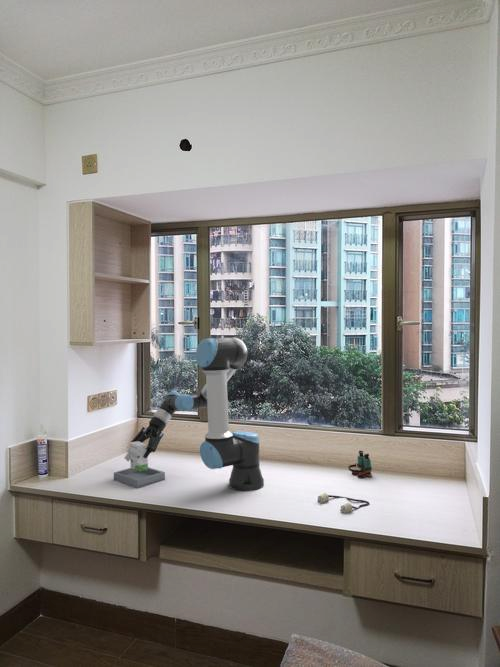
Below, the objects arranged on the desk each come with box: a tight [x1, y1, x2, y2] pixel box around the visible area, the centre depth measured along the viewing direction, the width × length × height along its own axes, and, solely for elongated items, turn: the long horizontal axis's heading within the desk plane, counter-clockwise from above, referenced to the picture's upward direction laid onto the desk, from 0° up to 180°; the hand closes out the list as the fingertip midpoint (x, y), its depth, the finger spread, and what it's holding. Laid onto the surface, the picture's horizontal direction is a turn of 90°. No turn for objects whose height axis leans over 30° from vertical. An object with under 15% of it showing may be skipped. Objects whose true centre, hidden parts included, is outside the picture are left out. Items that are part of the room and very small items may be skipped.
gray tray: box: [113, 466, 166, 489], centre depth 238 cm, size 18×15×4 cm
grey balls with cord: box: [317, 492, 370, 514], centre depth 204 cm, size 16×16×4 cm
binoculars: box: [347, 450, 373, 479], centre depth 238 cm, size 9×11×10 cm
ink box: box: [129, 441, 149, 472], centre depth 238 cm, size 9×5×12 cm, turn 40°
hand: (132, 461), depth 235 cm, fingers closed on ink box, 9 cm apart
